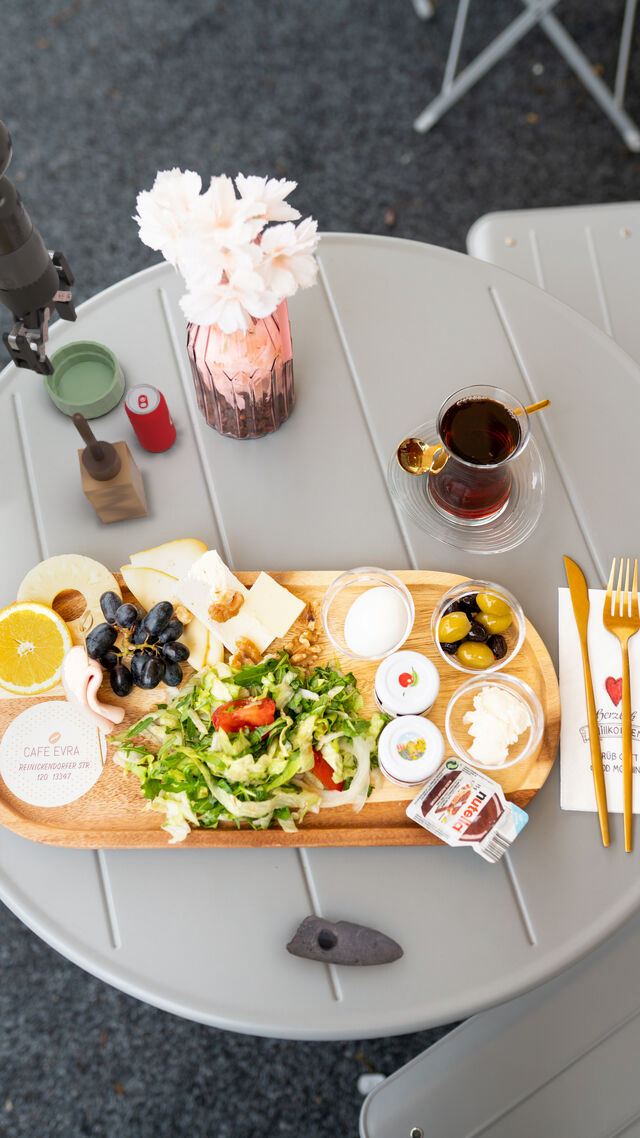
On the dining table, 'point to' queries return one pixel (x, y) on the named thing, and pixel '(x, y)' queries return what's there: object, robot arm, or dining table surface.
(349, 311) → the dining table surface
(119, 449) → the wooden square block
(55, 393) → the bowl
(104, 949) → the dining table surface
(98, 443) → the brown handled round part
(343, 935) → the perforated stone tool
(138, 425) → the beverage can
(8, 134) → the robot arm
